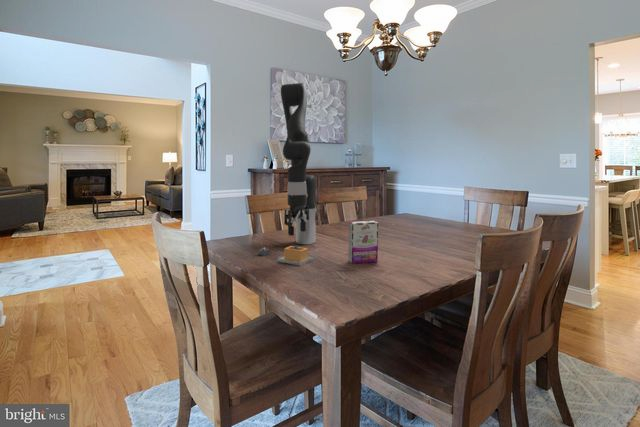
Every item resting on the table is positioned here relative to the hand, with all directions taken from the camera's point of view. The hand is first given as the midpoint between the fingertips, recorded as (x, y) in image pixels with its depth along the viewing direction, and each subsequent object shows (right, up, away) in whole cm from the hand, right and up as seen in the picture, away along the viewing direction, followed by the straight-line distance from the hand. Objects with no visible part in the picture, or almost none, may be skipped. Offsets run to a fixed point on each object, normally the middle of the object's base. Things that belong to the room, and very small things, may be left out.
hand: (297, 233), depth 149 cm
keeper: (-1, -11, +1) cm, 11 cm away
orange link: (-1, -10, +1) cm, 10 cm away
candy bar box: (+26, -12, +2) cm, 29 cm away
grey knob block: (-15, -10, +11) cm, 21 cm away
